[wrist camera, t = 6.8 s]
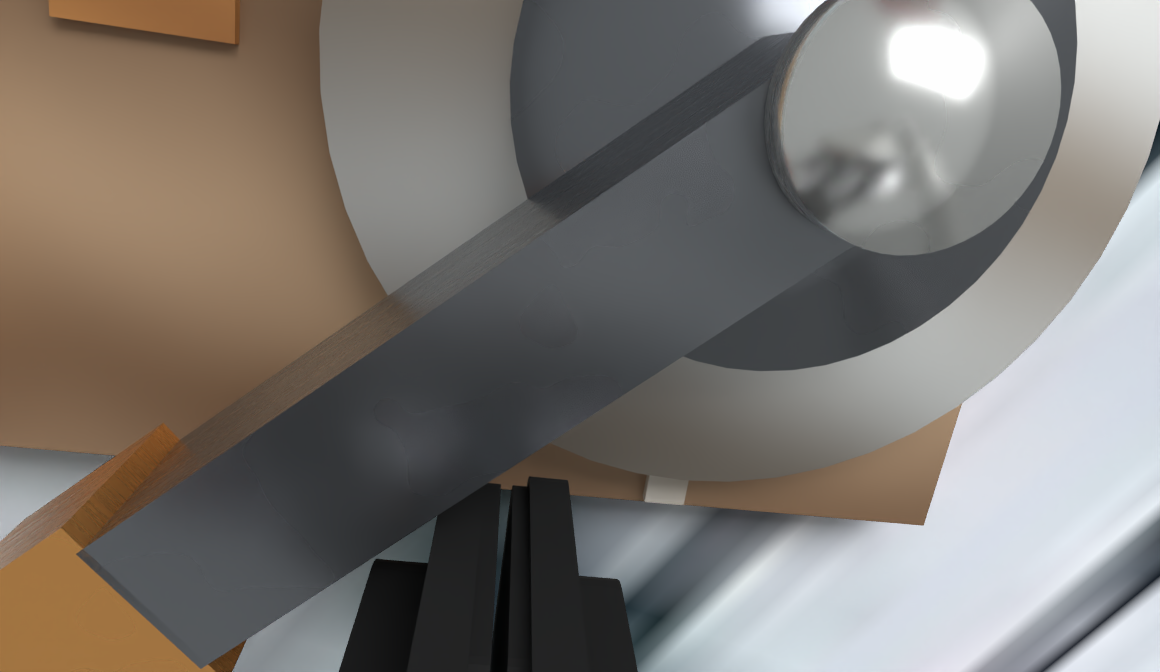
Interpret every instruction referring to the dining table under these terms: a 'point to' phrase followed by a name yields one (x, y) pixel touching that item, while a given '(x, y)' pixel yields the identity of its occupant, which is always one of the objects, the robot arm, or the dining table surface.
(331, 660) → the dining table surface
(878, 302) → the grey lever handle
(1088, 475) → the dining table surface
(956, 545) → the dining table surface
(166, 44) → the board
